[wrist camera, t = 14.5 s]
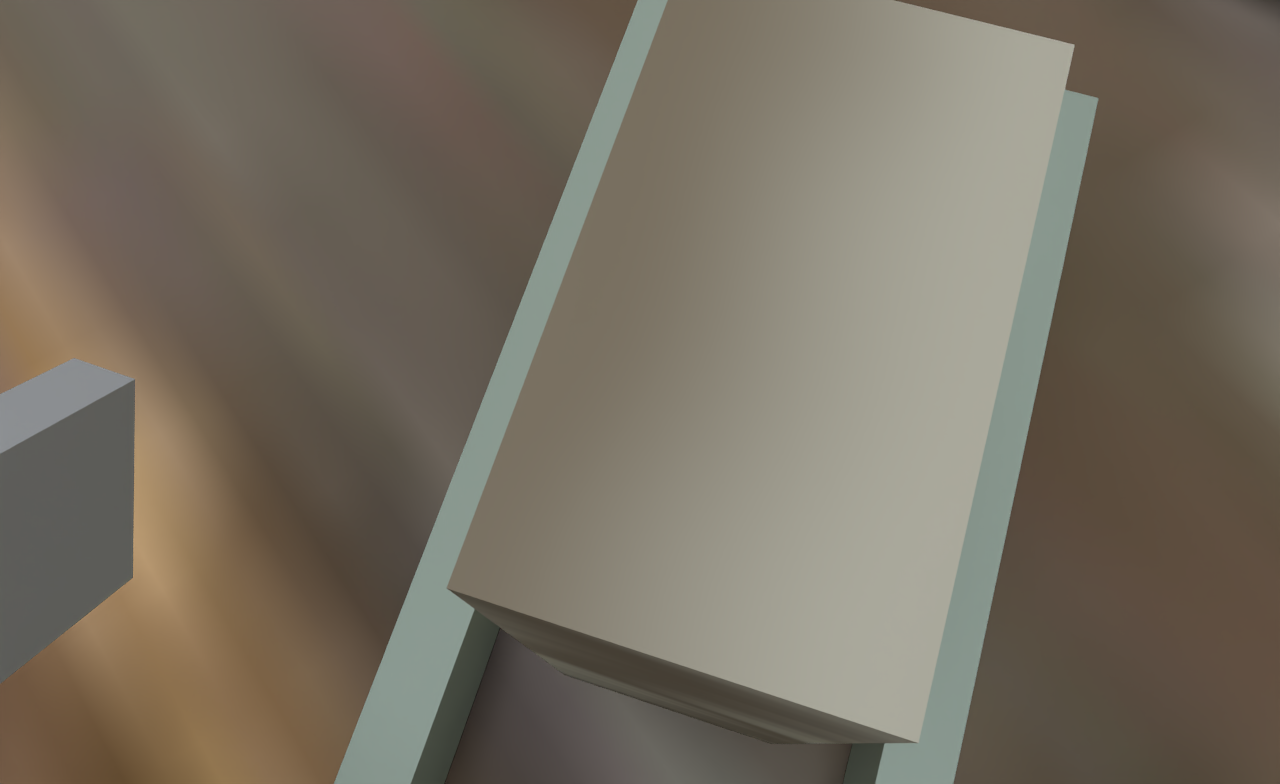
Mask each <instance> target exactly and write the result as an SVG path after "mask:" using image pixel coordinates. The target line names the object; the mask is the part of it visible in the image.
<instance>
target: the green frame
mask: <svg viewBox="0 0 1280 784" xmlns="http://www.w3.org/2000/svg"><path fill="white" fill-rule="evenodd" d="M667 1H668V0H638V2H637V4H636V7H635V9H634V12H633V14H632V17H631V20H630V22H629V25H628V27H627V30H626V32H625V35H624V38H623V40H622V43H621V45H620V48H619V50H618V53H617V56H616V58H615V61H614V63H613V66H612V69H611V71H610V74H609V76H608V79H607V81H606V84H605V87H604V89H603V92H602V94H601V97H600V99H599V102H598V105H597V107H596V110H595V112H594V115H593V117H592V120H591V123H590V125H589V128H588V130H587V133H586V135H585V138H584V141H583V143H582V146H581V148H580V151H579V154H578V156H577V159H576V161H575V164H574V166H573V169H572V172H571V174H570V177H569V179H568V182H567V184H566V187H565V190H564V192H563V195H562V197H561V200H560V202H559V205H558V208H557V210H556V213H555V215H554V218H553V221H552V223H551V226H550V228H549V231H548V233H547V236H546V239H545V241H544V244H543V246H542V249H541V251H540V254H539V257H538V259H537V262H536V264H535V267H534V269H533V272H532V275H531V277H530V280H529V282H528V285H527V288H526V290H525V293H524V295H523V298H522V300H521V303H520V306H519V308H518V311H517V313H516V316H515V318H514V321H513V324H512V326H511V329H510V331H509V334H508V336H507V339H506V342H505V344H504V347H503V349H502V352H501V354H500V357H499V360H498V362H497V365H496V367H495V370H494V373H493V375H492V378H491V380H490V383H489V385H488V388H487V391H486V393H485V396H484V398H483V401H482V403H481V406H480V409H479V411H478V414H477V416H476V419H475V421H474V424H473V427H472V429H471V432H470V434H469V437H468V440H467V442H466V445H465V447H464V450H463V452H462V455H461V458H460V460H459V463H458V465H457V468H456V470H455V473H454V476H453V478H452V481H451V483H450V486H449V488H448V491H447V494H446V496H445V499H444V501H443V504H442V507H441V509H440V512H439V514H438V517H437V519H436V522H435V525H434V527H433V530H432V532H431V535H430V537H429V540H428V543H427V545H426V548H425V550H424V553H423V555H422V558H421V561H420V563H419V566H418V568H417V571H416V573H415V576H414V579H413V581H412V584H411V586H410V589H409V592H408V594H407V597H406V599H405V602H404V604H403V607H402V610H401V612H400V615H399V617H398V620H397V622H396V625H395V628H394V630H393V633H392V635H391V638H390V640H389V643H388V646H387V648H386V651H385V653H384V656H383V659H382V661H381V664H380V666H379V669H378V671H377V674H376V677H375V679H374V682H373V684H372V687H371V689H370V692H369V695H368V697H367V700H366V702H365V705H364V707H363V710H362V713H361V715H360V718H359V720H358V723H357V726H356V728H355V731H354V733H353V736H352V738H351V741H350V744H349V746H348V749H347V751H346V754H345V756H344V759H343V762H342V764H341V767H340V769H339V772H338V774H337V777H336V780H335V782H334V784H444V783H445V780H446V778H447V775H448V772H449V769H450V766H451V764H452V761H453V758H454V755H455V752H456V750H457V747H458V744H459V741H460V738H461V736H462V733H463V730H464V727H465V724H466V722H467V719H468V716H469V713H470V710H471V707H472V705H473V702H474V699H475V696H476V693H477V691H478V688H479V685H480V682H481V679H482V677H483V674H484V671H485V668H486V665H487V663H488V660H489V657H490V654H491V651H492V649H493V646H494V643H495V640H496V637H497V635H498V632H499V629H500V627H499V626H497V625H496V624H495V623H493V622H492V621H490V620H489V619H488V618H486V617H485V616H484V615H482V614H481V613H480V612H478V611H477V610H475V609H474V608H473V607H471V606H470V605H469V604H467V603H466V602H465V601H463V600H462V599H460V598H459V597H458V596H456V595H455V594H454V593H452V592H451V591H450V590H448V589H447V585H448V583H449V580H450V578H451V575H452V572H453V570H454V567H455V564H456V562H457V559H458V556H459V554H460V551H461V548H462V546H463V543H464V540H465V538H466V535H467V532H468V530H469V527H470V524H471V522H472V519H473V516H474V514H475V511H476V508H477V506H478V503H479V500H480V498H481V495H482V492H483V490H484V487H485V485H486V482H487V479H488V477H489V474H490V471H491V469H492V466H493V463H494V461H495V458H496V455H497V453H498V450H499V447H500V445H501V442H502V439H503V437H504V434H505V431H506V429H507V426H508V423H509V421H510V418H511V415H512V413H513V410H514V407H515V405H516V402H517V399H518V397H519V394H520V391H521V389H522V386H523V384H524V381H525V378H526V376H527V373H528V370H529V368H530V365H531V362H532V360H533V357H534V354H535V352H536V349H537V346H538V344H539V341H540V338H541V336H542V333H543V330H544V328H545V325H546V322H547V320H548V317H549V314H550V312H551V309H552V306H553V304H554V301H555V298H556V296H557V293H558V290H559V288H560V285H561V283H562V280H563V277H564V275H565V272H566V269H567V267H568V264H569V261H570V259H571V256H572V253H573V251H574V248H575V245H576V243H577V240H578V237H579V235H580V232H581V229H582V227H583V224H584V221H585V219H586V216H587V213H588V211H589V208H590V205H591V203H592V200H593V197H594V195H595V192H596V190H597V187H598V184H599V182H600V179H601V176H602V174H603V171H604V168H605V166H606V163H607V160H608V158H609V155H610V152H611V150H612V147H613V144H614V142H615V139H616V136H617V134H618V131H619V128H620V126H621V123H622V120H623V118H624V115H625V112H626V110H627V107H628V104H629V102H630V99H631V96H632V94H633V91H634V89H635V86H636V83H637V81H638V78H639V75H640V73H641V70H642V67H643V65H644V62H645V59H646V57H647V54H648V51H649V49H650V46H651V43H652V41H653V38H654V35H655V33H656V30H657V27H658V25H659V22H660V19H661V17H662V14H663V11H664V9H665V6H666V3H667ZM1097 102H1098V98H1096V97H1092V96H1088V95H1084V94H1080V93H1076V92H1072V91H1068V90H1065V91H1064V95H1063V100H1062V104H1061V109H1060V113H1059V117H1058V122H1057V126H1056V131H1055V135H1054V140H1053V144H1052V149H1051V153H1050V158H1049V162H1048V167H1047V171H1046V176H1045V180H1044V185H1043V189H1042V193H1041V198H1040V202H1039V207H1038V211H1037V216H1036V220H1035V225H1034V229H1033V234H1032V238H1031V243H1030V247H1029V252H1028V256H1027V261H1026V265H1025V269H1024V274H1023V278H1022V283H1021V287H1020V292H1019V296H1018V301H1017V305H1016V310H1015V314H1014V319H1013V323H1012V328H1011V332H1010V337H1009V341H1008V346H1007V350H1006V354H1005V359H1004V363H1003V368H1002V372H1001V377H1000V381H999V386H998V390H997V395H996V399H995V404H994V408H993V413H992V417H991V422H990V426H989V430H988V435H987V439H986V444H985V448H984V453H983V457H982V462H981V466H980V471H979V475H978V480H977V484H976V489H975V493H974V498H973V502H972V506H971V511H970V515H969V520H968V524H967V529H966V533H965V538H964V542H963V547H962V551H961V556H960V560H959V565H958V569H957V574H956V578H955V582H954V587H953V591H952V596H951V600H950V605H949V609H948V614H947V618H946V623H945V627H944V632H943V636H942V641H941V645H940V650H939V654H938V658H937V663H936V667H935V672H934V676H933V681H932V685H931V690H930V694H929V699H928V703H927V708H926V712H925V717H924V721H923V726H922V730H921V734H920V739H919V743H852V748H851V752H850V756H849V760H848V764H847V768H846V772H845V776H844V780H843V784H953V783H954V778H955V773H956V769H957V764H958V759H959V754H960V750H961V745H962V740H963V736H964V731H965V726H966V721H967V717H968V712H969V707H970V702H971V698H972V693H973V688H974V684H975V679H976V674H977V669H978V665H979V660H980V655H981V650H982V646H983V641H984V636H985V632H986V627H987V622H988V617H989V613H990V608H991V603H992V599H993V594H994V589H995V584H996V580H997V575H998V570H999V565H1000V561H1001V556H1002V551H1003V547H1004V542H1005V537H1006V532H1007V528H1008V523H1009V518H1010V513H1011V509H1012V504H1013V499H1014V495H1015V490H1016V485H1017V480H1018V476H1019V471H1020V466H1021V461H1022V457H1023V452H1024V447H1025V443H1026V438H1027V433H1028V428H1029V424H1030V419H1031V414H1032V410H1033V405H1034V400H1035V395H1036V391H1037V386H1038V381H1039V376H1040V372H1041V367H1042V362H1043V358H1044V353H1045V348H1046V343H1047V339H1048V334H1049V329H1050V324H1051V320H1052V315H1053V310H1054V306H1055V301H1056V296H1057V291H1058V287H1059V282H1060V277H1061V272H1062V268H1063V263H1064V258H1065V254H1066V249H1067V244H1068V239H1069V235H1070V230H1071V225H1072V221H1073V216H1074V211H1075V206H1076V202H1077V197H1078V192H1079V187H1080V183H1081V178H1082V173H1083V169H1084V164H1085V159H1086V154H1087V150H1088V145H1089V140H1090V135H1091V131H1092V126H1093V121H1094V117H1095V112H1096V107H1097Z"/></svg>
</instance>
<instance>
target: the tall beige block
mask: <svg viewBox="0 0 1280 784" xmlns="http://www.w3.org/2000/svg"><path fill="white" fill-rule="evenodd" d="M1074 46H1075V45H1073V44H1069V43H1065V42H1061V41H1057V40H1053V39H1049V38H1045V37H1041V36H1037V35H1033V34H1029V33H1025V32H1020V31H1016V30H1012V29H1008V28H1004V27H1000V26H996V25H992V24H988V23H984V22H980V21H976V20H972V19H968V18H964V17H959V16H955V15H951V14H947V13H943V12H939V11H935V10H931V9H927V8H923V7H919V6H915V5H911V4H907V3H903V2H898V1H894V0H668V1H667V3H666V6H665V9H664V11H663V14H662V17H661V19H660V22H659V25H658V27H657V30H656V33H655V35H654V38H653V41H652V43H651V46H650V49H649V51H648V54H647V57H646V59H645V62H644V65H643V67H642V70H641V73H640V75H639V78H638V81H637V83H636V86H635V89H634V91H633V94H632V96H631V99H630V102H629V104H628V107H627V110H626V112H625V115H624V118H623V120H622V123H621V126H620V128H619V131H618V134H617V136H616V139H615V142H614V144H613V147H612V150H611V152H610V155H609V158H608V160H607V163H606V166H605V168H604V171H603V174H602V176H601V179H600V182H599V184H598V187H597V190H596V192H595V195H594V197H593V200H592V203H591V205H590V208H589V211H588V213H587V216H586V219H585V221H584V224H583V227H582V229H581V232H580V235H579V237H578V240H577V243H576V245H575V248H574V251H573V253H572V256H571V259H570V261H569V264H568V267H567V269H566V272H565V275H564V277H563V280H562V283H561V285H560V288H559V290H558V293H557V296H556V298H555V301H554V304H553V306H552V309H551V312H550V314H549V317H548V320H547V322H546V325H545V328H544V330H543V333H542V336H541V338H540V341H539V344H538V346H537V349H536V352H535V354H534V357H533V360H532V362H531V365H530V368H529V370H528V373H527V376H526V378H525V381H524V384H523V386H522V389H521V391H520V394H519V397H518V399H517V402H516V405H515V407H514V410H513V413H512V415H511V418H510V421H509V423H508V426H507V429H506V431H505V434H504V437H503V439H502V442H501V445H500V447H499V450H498V453H497V455H496V458H495V461H494V463H493V466H492V469H491V471H490V474H489V477H488V479H487V482H486V485H485V487H484V490H483V492H482V495H481V498H480V500H479V503H478V506H477V508H476V511H475V514H474V516H473V519H472V522H471V524H470V527H469V530H468V532H467V535H466V538H465V540H464V543H463V546H462V548H461V551H460V554H459V556H458V559H457V562H456V564H455V567H454V570H453V572H452V575H451V578H450V580H449V583H448V585H447V589H448V590H450V591H451V592H452V593H454V594H455V595H456V596H458V597H459V598H460V599H462V600H463V601H465V602H466V603H467V604H469V605H470V606H471V607H473V608H474V609H475V610H477V611H478V612H480V613H481V614H482V615H484V616H485V617H486V618H488V619H489V620H490V621H492V622H493V623H495V624H496V625H497V626H499V627H500V628H501V629H503V630H504V631H506V632H507V633H508V634H510V635H511V636H512V637H514V638H515V639H516V640H518V641H519V642H521V643H522V644H523V645H525V646H526V647H527V648H529V649H530V650H531V651H533V652H534V653H536V654H537V655H538V656H540V657H541V658H542V659H544V660H545V661H546V662H548V663H549V664H551V665H552V666H553V667H555V668H556V669H557V670H559V671H560V672H562V673H563V674H564V675H567V676H570V677H573V678H576V679H579V680H582V681H585V682H588V683H591V684H594V685H597V686H600V687H603V688H606V689H609V690H612V691H615V692H618V693H621V694H624V695H627V696H630V697H633V698H636V699H639V700H642V701H645V702H648V703H651V704H654V705H657V706H660V707H663V708H666V709H669V710H672V711H675V712H678V713H681V714H684V715H687V716H690V717H693V718H696V719H698V720H701V721H704V722H707V723H710V724H713V725H716V726H719V727H722V728H725V729H728V730H731V731H734V732H737V733H740V734H743V735H746V736H749V737H752V738H755V739H758V740H761V741H764V742H767V743H770V744H827V743H919V739H920V734H921V730H922V726H923V721H924V717H925V712H926V708H927V703H928V699H929V694H930V690H931V685H932V681H933V676H934V672H935V667H936V663H937V658H938V654H939V650H940V645H941V641H942V636H943V632H944V627H945V623H946V618H947V614H948V609H949V605H950V600H951V596H952V591H953V587H954V582H955V578H956V574H957V569H958V565H959V560H960V556H961V551H962V547H963V542H964V538H965V533H966V529H967V524H968V520H969V515H970V511H971V506H972V502H973V498H974V493H975V489H976V484H977V480H978V475H979V471H980V466H981V462H982V457H983V453H984V448H985V444H986V439H987V435H988V430H989V426H990V422H991V417H992V413H993V408H994V404H995V399H996V395H997V390H998V386H999V381H1000V377H1001V372H1002V368H1003V363H1004V359H1005V354H1006V350H1007V346H1008V341H1009V337H1010V332H1011V328H1012V323H1013V319H1014V314H1015V310H1016V305H1017V301H1018V296H1019V292H1020V287H1021V283H1022V278H1023V274H1024V269H1025V265H1026V261H1027V256H1028V252H1029V247H1030V243H1031V238H1032V234H1033V229H1034V225H1035V220H1036V216H1037V211H1038V207H1039V202H1040V198H1041V193H1042V189H1043V185H1044V180H1045V176H1046V171H1047V167H1048V162H1049V158H1050V153H1051V149H1052V144H1053V140H1054V135H1055V131H1056V126H1057V122H1058V117H1059V113H1060V109H1061V104H1062V100H1063V95H1064V91H1065V86H1066V82H1067V77H1068V73H1069V68H1070V64H1071V59H1072V55H1073V50H1074Z"/></svg>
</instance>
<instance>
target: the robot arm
mask: <svg viewBox="0 0 1280 784" xmlns="http://www.w3.org/2000/svg"><path fill="white" fill-rule="evenodd" d="M134 421H135V379H133V378H130V377H127V376H124V375H121V374H118V373H115V372H113V371H110V370H107V369H104V368H101V367H98V366H95V365H92V364H90V363H87V362H84V361H81V360H78V359H75V358H73V359H71V360H69V361H67V362H65V363H63V364H61V365H59V366H57V367H55V368H53V369H51V370H49V371H47V372H45V373H43V374H41V375H39V376H37V377H35V378H33V379H30V380H28V381H26V382H24V383H22V384H20V385H18V386H16V387H14V388H12V389H10V390H8V391H6V392H4V393H2V394H0V683H2V682H3V681H4V680H5V679H7V678H8V677H9V676H10V675H12V674H13V673H14V672H15V671H17V670H18V669H19V668H20V667H22V666H23V665H24V664H25V663H27V662H28V661H29V660H30V659H32V658H33V657H34V656H35V655H37V654H38V653H39V652H40V651H42V650H43V649H44V648H45V647H47V646H48V645H49V644H50V643H52V642H53V641H54V640H55V639H57V638H58V637H59V636H60V635H62V634H63V633H64V632H65V631H67V630H68V629H69V628H70V627H72V626H73V625H74V624H75V623H77V622H78V621H79V620H80V619H82V618H83V617H84V616H85V615H87V614H88V613H89V612H90V611H92V610H93V609H94V608H95V607H97V606H98V605H99V604H100V603H102V602H103V601H104V600H105V599H107V598H108V597H109V596H110V595H112V594H113V593H114V592H115V591H117V590H118V589H119V588H120V587H122V586H123V585H124V584H125V583H127V582H128V581H129V580H130V579H132V578H133V510H134Z"/></svg>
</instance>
